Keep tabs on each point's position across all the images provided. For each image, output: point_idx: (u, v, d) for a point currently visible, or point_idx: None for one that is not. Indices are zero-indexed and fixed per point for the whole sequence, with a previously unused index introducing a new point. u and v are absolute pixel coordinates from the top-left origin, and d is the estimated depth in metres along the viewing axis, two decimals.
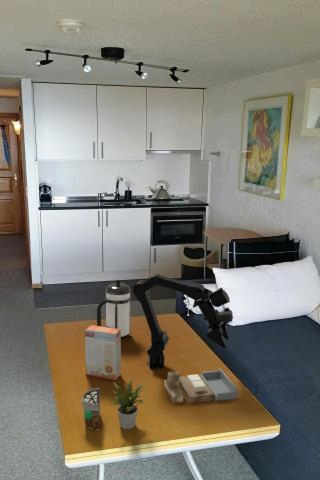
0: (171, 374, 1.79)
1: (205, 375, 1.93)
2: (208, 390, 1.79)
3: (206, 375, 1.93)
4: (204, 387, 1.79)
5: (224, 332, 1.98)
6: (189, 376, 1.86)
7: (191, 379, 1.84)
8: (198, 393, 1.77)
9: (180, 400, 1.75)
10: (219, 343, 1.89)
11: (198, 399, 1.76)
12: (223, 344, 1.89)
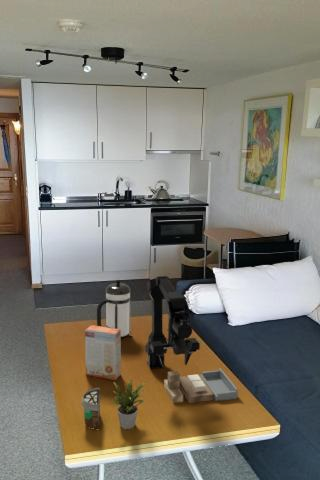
0: (171, 374, 1.79)
1: (205, 375, 1.93)
2: (208, 390, 1.79)
3: (206, 375, 1.93)
4: (204, 387, 1.79)
5: (186, 356, 1.80)
6: (189, 376, 1.86)
7: (191, 379, 1.84)
8: (198, 393, 1.77)
9: (180, 400, 1.75)
10: (160, 359, 1.78)
11: (198, 399, 1.76)
12: (161, 363, 1.77)
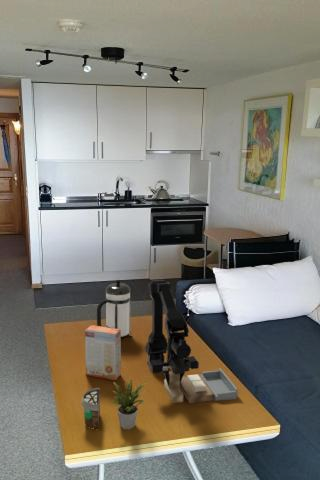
0: (171, 374, 1.79)
1: (205, 375, 1.93)
2: (208, 390, 1.79)
3: (206, 375, 1.93)
4: (204, 387, 1.79)
5: None
6: (189, 376, 1.86)
7: (191, 379, 1.84)
8: (198, 393, 1.77)
9: (180, 400, 1.75)
10: (165, 377, 1.80)
11: (198, 399, 1.76)
12: None
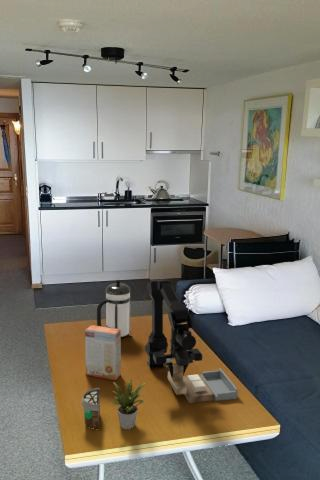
0: (175, 366, 1.78)
1: (205, 375, 1.93)
2: (208, 390, 1.79)
3: (206, 375, 1.93)
4: (204, 387, 1.79)
5: None
6: (189, 376, 1.86)
7: (191, 379, 1.84)
8: (198, 393, 1.77)
9: (184, 391, 1.75)
10: None
11: (198, 399, 1.76)
12: (170, 373, 1.79)
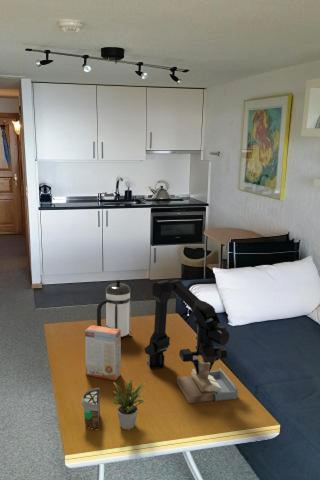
0: (202, 363, 1.81)
1: None
2: None
3: None
4: (219, 389, 1.80)
5: None
6: None
7: None
8: (198, 393, 1.77)
9: (209, 389, 1.78)
10: (194, 366, 1.82)
11: (198, 399, 1.76)
12: (196, 370, 1.82)
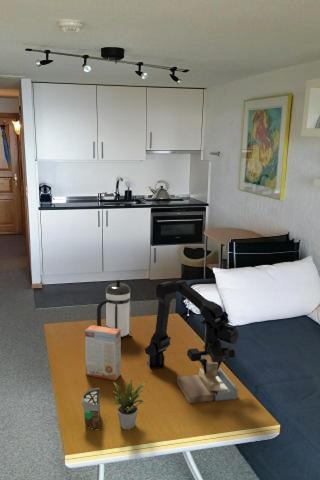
0: (210, 363, 1.82)
1: None
2: (208, 390, 1.79)
3: None
4: (226, 390, 1.81)
5: None
6: None
7: None
8: (198, 393, 1.77)
9: (217, 389, 1.79)
10: (202, 365, 1.83)
11: (198, 399, 1.76)
12: (203, 369, 1.82)
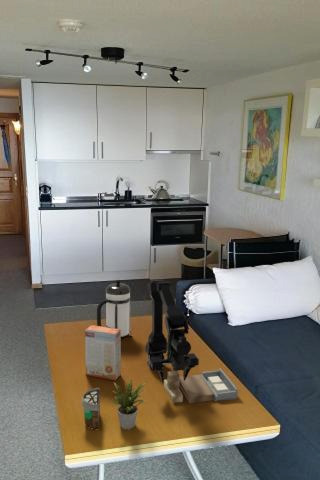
0: (171, 374, 1.79)
1: (205, 375, 1.93)
2: (208, 390, 1.79)
3: (206, 375, 1.93)
4: (226, 390, 1.81)
5: (184, 372, 1.81)
6: (210, 378, 1.89)
7: (212, 381, 1.87)
8: (198, 393, 1.77)
9: (180, 400, 1.75)
10: (159, 374, 1.79)
11: (198, 399, 1.76)
12: (161, 378, 1.78)
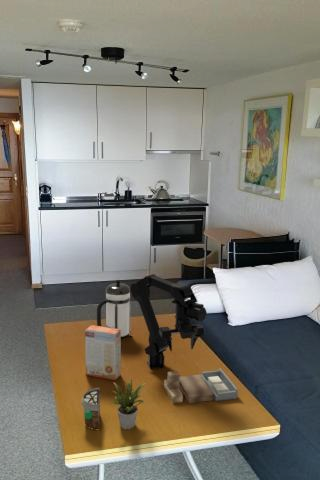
0: (171, 374, 1.79)
1: (205, 375, 1.93)
2: (208, 390, 1.79)
3: (206, 375, 1.93)
4: (226, 390, 1.81)
5: (192, 341, 1.94)
6: (210, 378, 1.89)
7: (212, 381, 1.87)
8: (198, 393, 1.77)
9: (180, 400, 1.75)
10: (168, 343, 1.92)
11: (198, 399, 1.76)
12: (169, 347, 1.91)
